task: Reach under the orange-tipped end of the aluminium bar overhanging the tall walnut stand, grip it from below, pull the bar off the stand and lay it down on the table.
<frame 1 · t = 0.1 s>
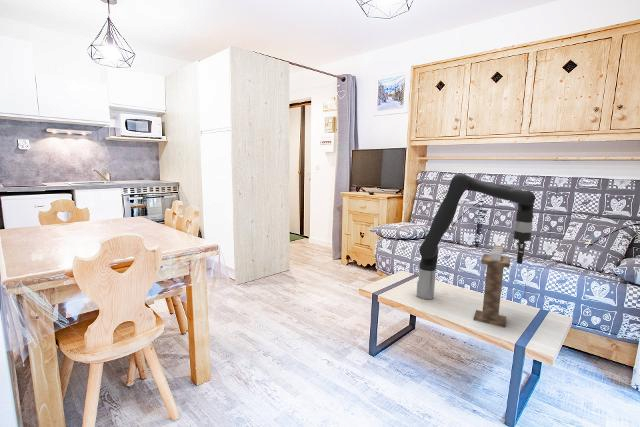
hand: (519, 261, 167), 29 cm above the table, tool pointing down, fingers open, 8 cm apart
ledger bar: (496, 256, 166), point 32 cm above the table, touching tall stand
tall stand: (489, 319, 166), on the table
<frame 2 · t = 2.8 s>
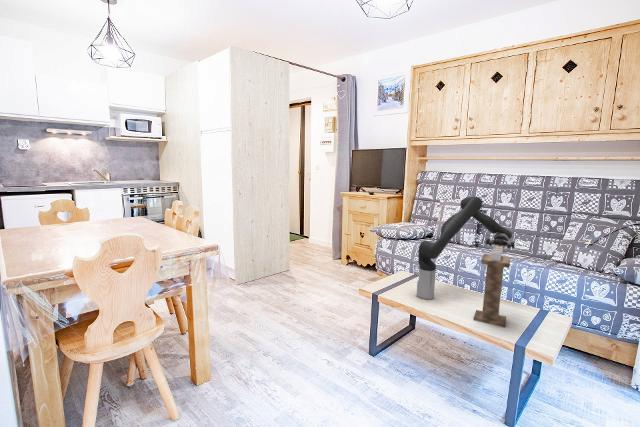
hand: (499, 245, 181), 34 cm above the table, tool horizontal, fingers open, 8 cm apart
nothing on the table moved.
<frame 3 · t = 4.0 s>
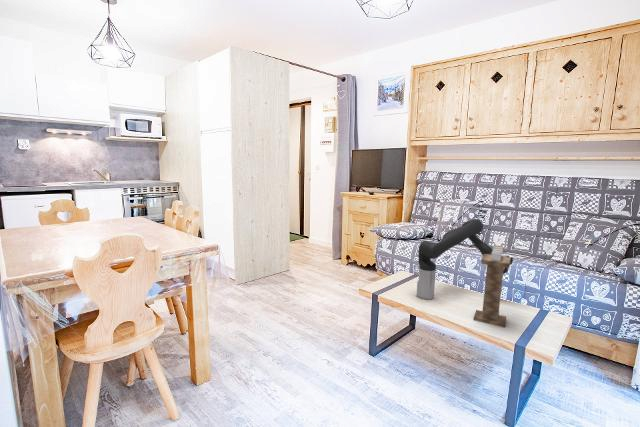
hand: (498, 255, 182), 28 cm above the table, tool pointing upward, fingers open, 8 cm apart
nothing on the table moved.
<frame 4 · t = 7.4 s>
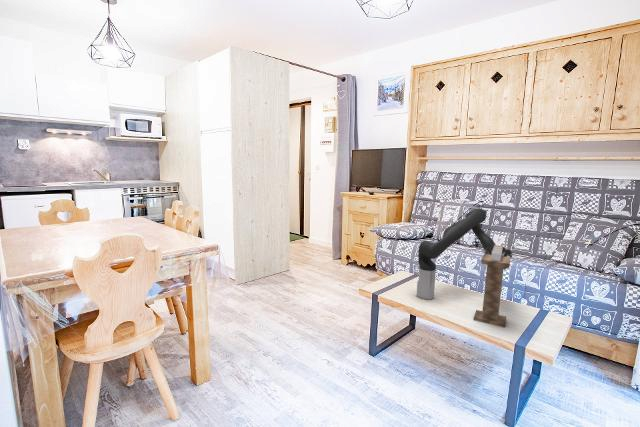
hand: (498, 247, 170), 35 cm above the table, tool pointing upward, fingers closed on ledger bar, 4 cm apart
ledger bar: (496, 256, 166), point 32 cm above the table, touching gripper, tall stand
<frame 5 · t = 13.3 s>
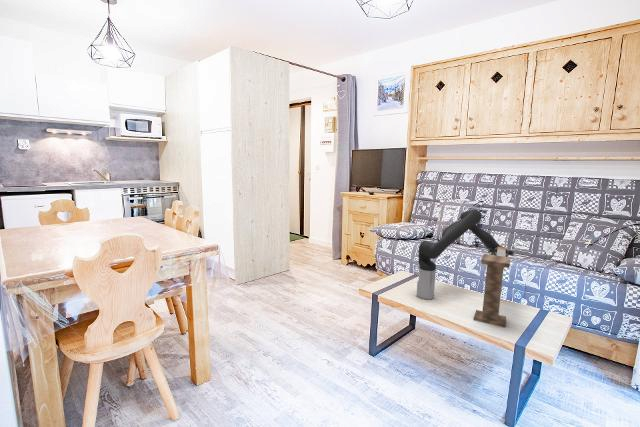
hand: (501, 250, 182), 31 cm above the table, tool pointing upward, fingers closed on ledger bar, 4 cm apart
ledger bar: (500, 260, 178), point 26 cm above the table, tilted 13°, touching gripper
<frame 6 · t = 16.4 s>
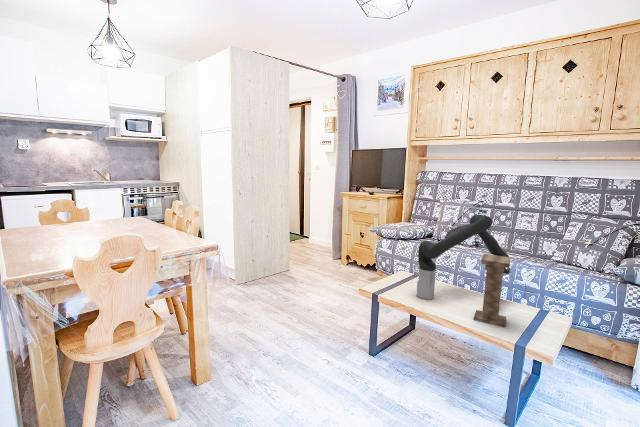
hand: (496, 273, 185), 17 cm above the table, tool horizontal, fingers closed on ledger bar, 4 cm apart
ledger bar: (495, 284, 183), point 12 cm above the table, tilted 30°, touching gripper
when the fingers open (8 cm above the table, at t = 19.0 s): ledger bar drops 3 cm, on the table.
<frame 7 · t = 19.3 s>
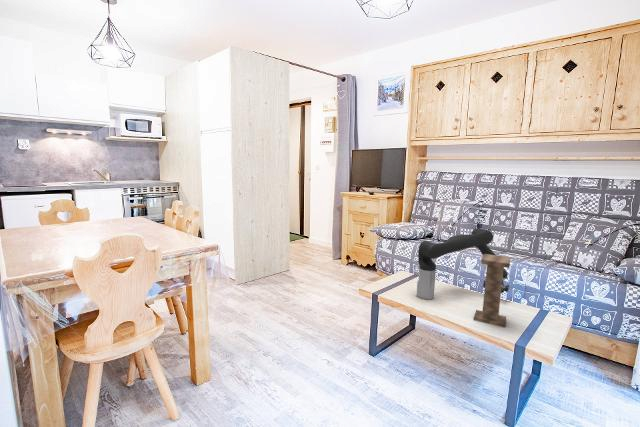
hand: (494, 290, 187), 7 cm above the table, tool horizontal, fingers open, 6 cm apart
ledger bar: (492, 304, 185), on the table
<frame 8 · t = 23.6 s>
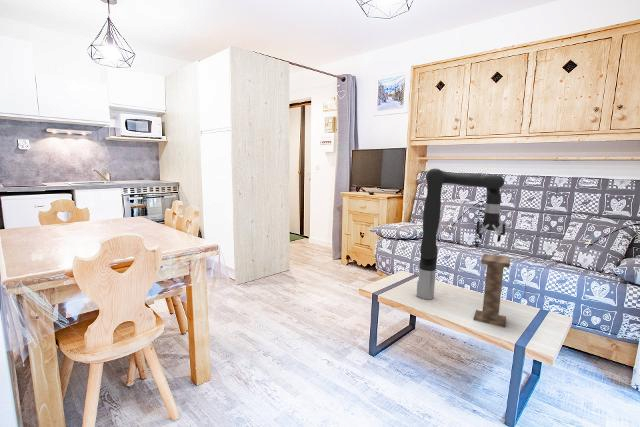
hand: (489, 240, 182), 36 cm above the table, tool pointing down, fingers open, 8 cm apart
nothing on the table moved.
at the end: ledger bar touching table; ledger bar on the table; the gripper is holding nothing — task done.
